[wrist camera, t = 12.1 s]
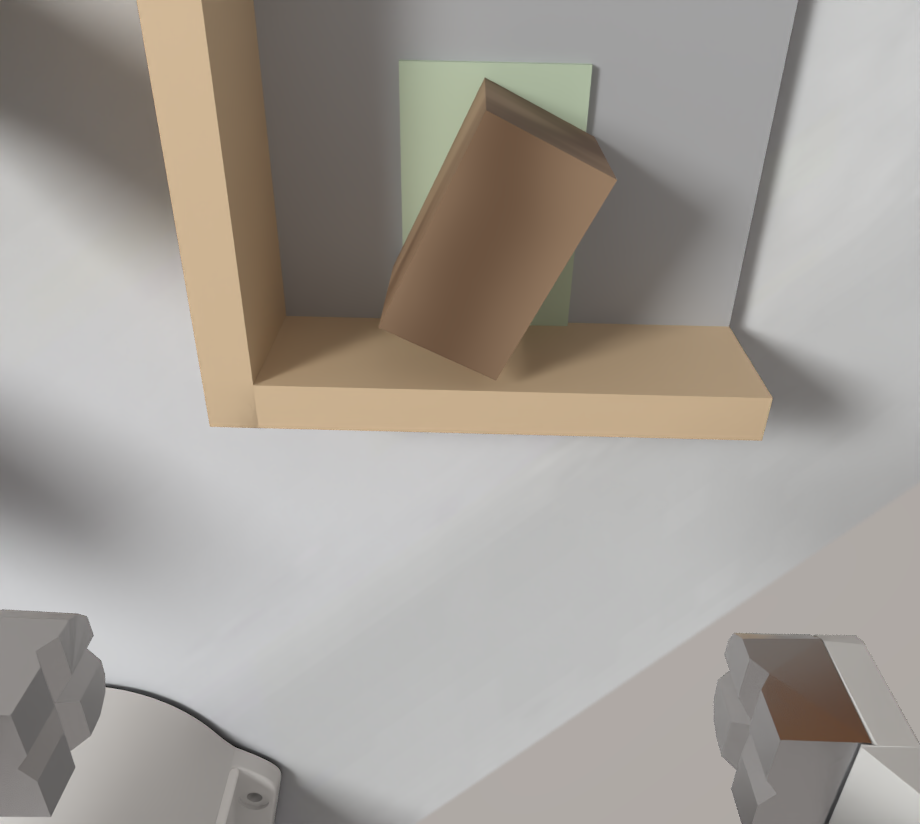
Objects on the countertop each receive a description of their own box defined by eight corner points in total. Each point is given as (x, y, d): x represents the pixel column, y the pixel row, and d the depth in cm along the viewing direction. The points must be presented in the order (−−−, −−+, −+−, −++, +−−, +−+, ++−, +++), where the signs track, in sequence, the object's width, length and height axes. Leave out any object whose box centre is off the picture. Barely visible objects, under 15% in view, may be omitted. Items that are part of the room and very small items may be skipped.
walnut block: (594, 136, 26) (617, 180, 22) (493, 313, 29) (495, 380, 25) (484, 77, 25) (486, 110, 21) (393, 266, 29) (378, 327, 24)
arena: (715, 354, 31) (761, 440, 26) (253, 343, 32) (210, 426, 26) (837, -234, 22) (945, -279, 17) (176, -246, 22) (85, -295, 17)
